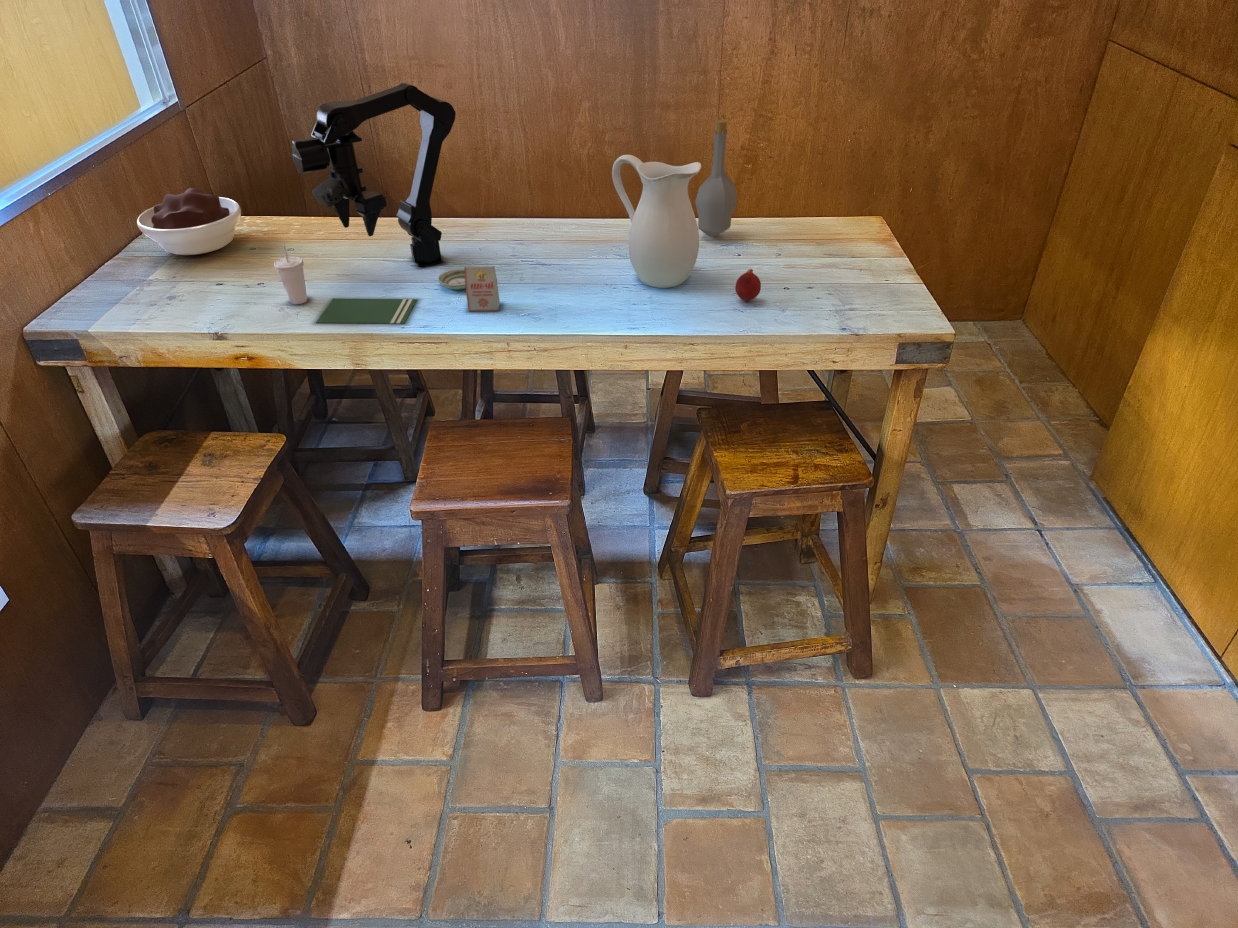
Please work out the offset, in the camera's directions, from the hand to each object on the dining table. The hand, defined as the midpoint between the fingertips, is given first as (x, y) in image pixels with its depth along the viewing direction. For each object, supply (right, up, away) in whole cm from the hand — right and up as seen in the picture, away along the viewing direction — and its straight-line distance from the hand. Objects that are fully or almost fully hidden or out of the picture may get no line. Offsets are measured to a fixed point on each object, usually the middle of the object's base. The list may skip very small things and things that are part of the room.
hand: (358, 231), depth 187 cm
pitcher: (+70, -9, +8) cm, 71 cm away
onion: (+92, -18, -4) cm, 94 cm away
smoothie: (-13, -17, -2) cm, 22 cm away
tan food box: (+31, -20, -6) cm, 37 cm away
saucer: (+23, -12, +4) cm, 27 cm away
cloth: (+4, -20, -7) cm, 22 cm away
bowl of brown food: (-50, +3, +24) cm, 56 cm away
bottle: (+88, +6, +26) cm, 92 cm away
